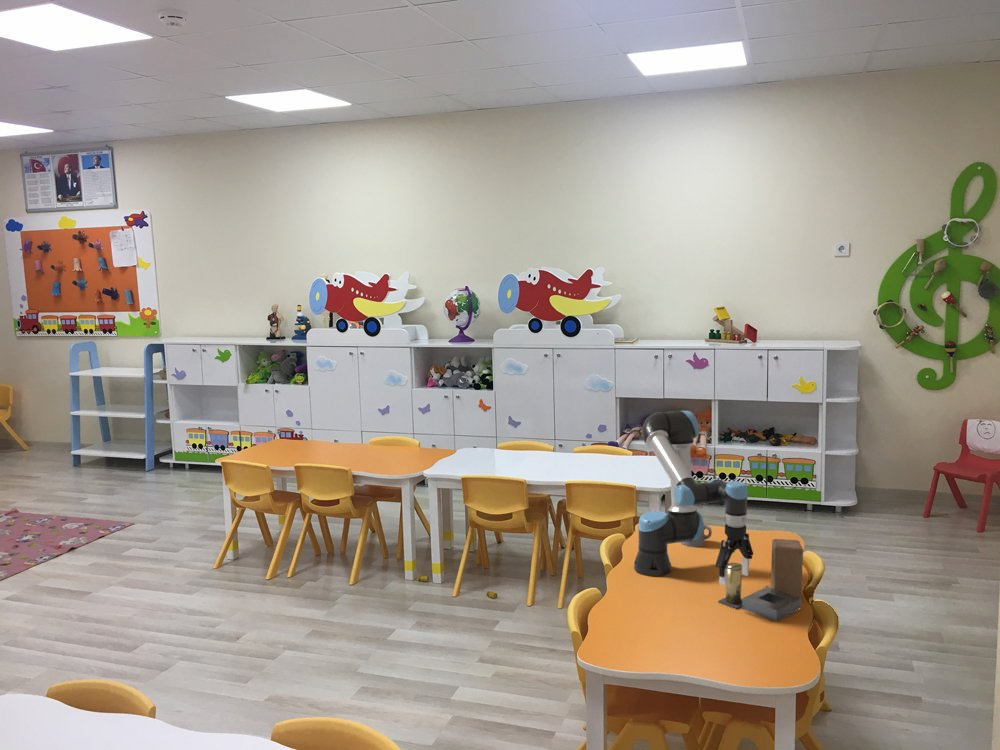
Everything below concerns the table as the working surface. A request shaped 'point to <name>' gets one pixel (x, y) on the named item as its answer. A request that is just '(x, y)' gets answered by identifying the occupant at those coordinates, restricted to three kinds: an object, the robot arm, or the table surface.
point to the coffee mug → (699, 541)
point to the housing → (771, 603)
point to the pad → (730, 604)
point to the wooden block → (787, 566)
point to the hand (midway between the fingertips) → (734, 579)
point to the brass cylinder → (734, 583)
